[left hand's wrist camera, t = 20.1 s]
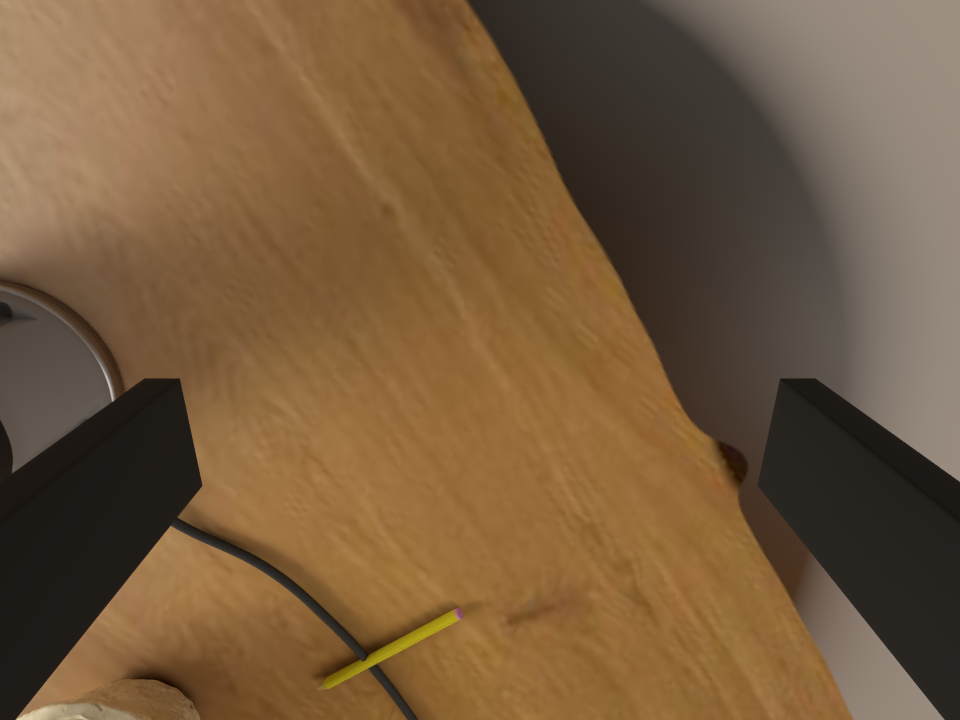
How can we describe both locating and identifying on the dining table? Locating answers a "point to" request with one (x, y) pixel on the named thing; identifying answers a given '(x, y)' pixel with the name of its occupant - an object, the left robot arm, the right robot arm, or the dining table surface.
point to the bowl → (122, 704)
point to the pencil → (392, 648)
